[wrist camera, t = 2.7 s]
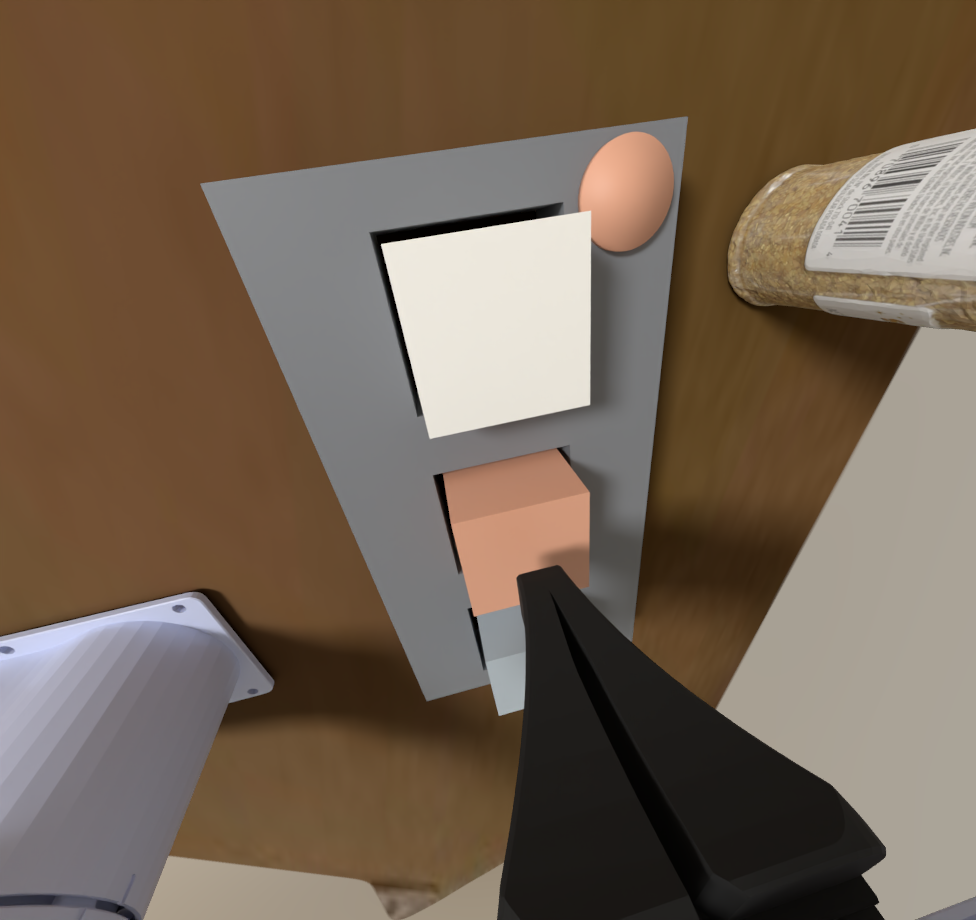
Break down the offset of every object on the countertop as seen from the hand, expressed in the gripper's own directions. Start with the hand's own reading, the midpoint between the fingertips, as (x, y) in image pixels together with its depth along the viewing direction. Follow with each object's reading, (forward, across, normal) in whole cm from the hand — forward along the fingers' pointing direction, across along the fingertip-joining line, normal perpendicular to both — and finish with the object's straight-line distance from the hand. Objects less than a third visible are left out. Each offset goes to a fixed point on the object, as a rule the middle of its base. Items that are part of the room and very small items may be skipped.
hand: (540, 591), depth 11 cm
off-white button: (+5, 0, -7) cm, 9 cm away
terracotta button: (+5, 0, 0) cm, 5 cm away
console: (+6, 0, 0) cm, 6 cm away
